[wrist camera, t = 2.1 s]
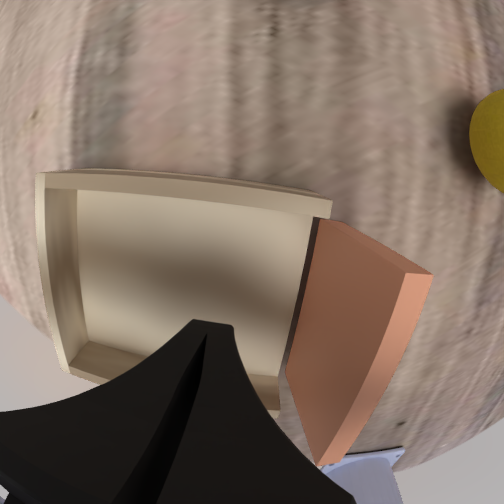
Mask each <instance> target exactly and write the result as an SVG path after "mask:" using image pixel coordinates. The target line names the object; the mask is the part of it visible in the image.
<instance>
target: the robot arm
mask: <svg viewBox="0 0 504 504" xmlns="http://www.w3.org/2000/svg"><path fill="white" fill-rule="evenodd" d="M404 452H405V449H404V448H403V447H402V448H396V449H391V450H385V451H378V452H371V453H363V454H354V455H344V457H343V458H342V460H341V461H340V462H338V463H333V464H328V465H323V467H322V468H321V470H319V469H318V468H317V467H316V466H315V465H314V464H313V463H312V462H311V461H310V460H308V459H307V458H306V457H305V456H304V455H303V454H302V453H301V452H300V450H299V449H298V448H297V447H296V446H295V445H294V444H293V443H292V442H291V440H290V439H289V438H288V437H287V436H286V435H285V433H284V432H283V431H282V430H281V429H280V428H279V426H278V425H277V424H276V422H275V421H274V419H273V418H272V417H271V415H270V414H269V412H268V411H267V409H266V408H265V406H264V405H263V403H262V401H261V400H260V398H259V396H258V395H257V393H256V391H255V389H254V387H253V385H252V383H251V381H250V379H249V377H248V375H247V373H246V370H245V368H244V365H243V363H242V360H241V357H240V355H239V352H238V348H237V344H236V340H235V335H234V327H233V326H232V325H230V324H223V323H217V322H210V321H204V320H197V319H192V320H191V321H189V322H188V323H187V324H186V325H185V326H184V327H183V328H182V329H181V330H180V331H179V332H178V333H177V334H175V335H174V336H173V337H172V338H171V339H170V340H169V341H167V342H166V343H165V344H164V345H163V346H161V347H160V348H159V349H158V350H156V351H155V352H154V353H153V354H151V355H150V356H148V357H147V358H146V359H144V360H143V361H141V362H140V363H139V364H137V365H136V366H134V367H133V368H131V369H129V370H128V371H126V372H125V373H123V374H121V375H119V376H118V377H116V378H114V379H112V380H110V381H108V382H106V383H104V384H102V385H100V386H97V387H95V388H93V389H90V390H88V391H86V392H83V393H81V394H79V395H76V396H73V397H70V398H67V399H64V400H61V401H57V402H54V403H50V404H46V405H42V406H37V407H33V408H26V409H20V410H13V411H6V412H0V485H2V486H3V487H4V488H5V489H6V490H7V491H8V492H9V494H8V496H7V498H6V500H4V499H3V498H2V497H0V504H403V501H402V498H401V495H400V492H399V489H398V486H397V483H396V480H395V477H394V474H393V471H392V468H391V467H392V466H393V464H394V463H395V462H396V461H397V460H398V459H399V458H400V457H401V456H402V454H403V453H404Z"/></svg>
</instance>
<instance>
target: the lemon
mask: <svg viewBox="0 0 504 504" xmlns="http://www.w3.org/2000/svg"><path fill="white" fill-rule="evenodd" d="M469 138H470V146H471V150H472V154H473V157H474V160H475V162H476V164H477V166H478V168H479V169H480V171H481V173H482V174H483V176H484V177H485V178H486V179H487V180H488V181H489V182H490V184H491V185H492V186H494V187H495V188H496V189H498V190H499V191H501V192H502V193H504V89H502V90H498V91H495V92H493V93H491V94H489V95H488V96H487V97H485V98H484V99H483V100H482V101H481V102H480V103H479V104H478V106H477V107H476V109H475V111H474V113H473V115H472V118H471V122H470V129H469Z"/></svg>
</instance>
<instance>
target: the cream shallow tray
mask: <svg viewBox="0 0 504 504" xmlns="http://www.w3.org/2000/svg"><path fill="white" fill-rule="evenodd" d="M332 202H333V201H332V200H330V199H328V198H326V197H324V196H321V195H319V194H317V193H315V192H313V191H310V190H305V189H299V188H293V187H286V186H280V185H273V184H267V183H260V182H252V181H245V180H237V179H229V178H221V177H212V176H202V175H192V174H182V173H170V172H157V171H142V170H124V169H98V168H81V169H70V170H59V171H50V172H41V173H36V181H35V217H36V237H37V250H38V260H39V268H40V276H41V283H42V289H43V295H44V300H45V306H46V311H47V316H48V320H49V325H50V329H51V333H52V337H53V341H54V345H55V348H56V352H57V355H58V359H59V362H60V365H61V368H62V371H65V372H67V373H70V374H72V375H75V376H77V377H80V378H83V379H86V380H88V381H91V382H94V383H97V384H100V385H102V384H104V383H106V382H108V381H110V380H112V379H114V378H116V377H118V376H119V375H121V374H123V373H125V372H126V371H128V370H129V369H131V368H133V367H134V366H136V365H137V364H139V363H140V362H141V361H143V360H144V359H146V358H147V357H148V356H150V355H151V354H153V353H154V352H155V351H156V350H158V349H159V348H160V347H161V346H163V345H164V344H165V343H166V342H167V341H169V340H170V339H171V338H172V337H173V336H174V335H175V334H177V333H178V332H179V331H180V330H181V329H182V328H183V327H184V326H185V325H186V324H187V323H188V322H189V321H191V320H192V319H197V320H204V321H210V322H217V323H223V324H230V325H232V326H233V327H234V335H235V340H236V344H237V348H238V352H239V355H240V357H241V360H242V363H243V365H244V368H245V370H246V373H247V375H248V377H249V379H250V381H251V383H252V385H253V387H254V389H255V391H256V393H257V395H258V396H259V398H260V400H261V401H262V403H263V405H264V406H265V408H266V409H267V411H268V412H269V414H270V415H271V417H272V418H278V416H279V413H280V399H279V386H278V374H279V370H280V366H281V362H282V358H283V354H284V350H285V346H286V342H287V338H288V334H289V330H290V326H291V322H292V317H293V313H294V309H295V304H296V300H297V295H298V291H299V286H300V281H301V276H302V272H303V267H304V262H305V257H306V252H307V247H308V242H309V236H310V231H311V226H312V220H313V216H314V217H320V218H326V219H330V213H331V208H332Z"/></svg>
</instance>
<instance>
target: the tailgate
mask: <svg viewBox="0 0 504 504" xmlns="http://www.w3.org/2000/svg"><path fill="white" fill-rule="evenodd" d="M433 276H434V275H433V274H431V273H430V272H428V271H427V270H425V269H423V268H422V267H420V266H418V265H417V264H415V263H413V262H412V261H410V260H408V259H407V258H405V257H403V256H402V255H400V254H398V253H397V252H395V251H393V250H391V249H390V248H388V247H386V246H384V245H383V244H381V243H379V242H377V241H376V240H374V239H372V238H370V237H369V236H367V235H365V234H363V233H361V232H359V231H358V230H356V229H354V228H352V227H350V226H348V225H346V224H345V223H343V222H340V221H333V220H326V219H320V221H319V226H318V232H317V237H316V242H315V247H314V252H313V257H312V262H311V266H310V271H309V276H308V280H307V285H306V289H305V294H304V298H303V302H302V307H301V311H300V315H299V319H298V323H297V327H296V331H295V335H294V339H293V343H292V347H291V351H290V355H289V358H288V362H287V366H286V369H285V374H286V377H287V380H288V383H289V386H290V389H291V392H292V395H293V398H294V401H295V404H296V407H297V410H298V413H299V416H300V419H301V422H302V426H303V429H304V432H305V435H306V438H307V441H308V444H309V447H310V450H311V453H312V456H313V459H314V462H315V465H316V466H322V465H328V464H333V463H338V462H340V461H341V460H342V458H343V457H344V455H345V454H346V453H347V451H348V450H349V448H350V447H351V445H352V444H353V443H354V441H355V440H356V438H357V437H358V435H359V434H360V432H361V430H362V429H363V427H364V426H365V424H366V423H367V421H368V419H369V418H370V416H371V414H372V413H373V411H374V409H375V408H376V406H377V404H378V402H379V401H380V399H381V397H382V395H383V394H384V392H385V390H386V388H387V386H388V384H389V382H390V380H391V378H392V377H393V375H394V373H395V371H396V369H397V367H398V364H399V362H400V360H401V358H402V356H403V354H404V352H405V350H406V347H407V345H408V343H409V341H410V338H411V336H412V333H413V331H414V329H415V326H416V324H417V321H418V319H419V316H420V314H421V311H422V308H423V306H424V303H425V300H426V297H427V294H428V291H429V288H430V285H431V282H432V279H433Z"/></svg>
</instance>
